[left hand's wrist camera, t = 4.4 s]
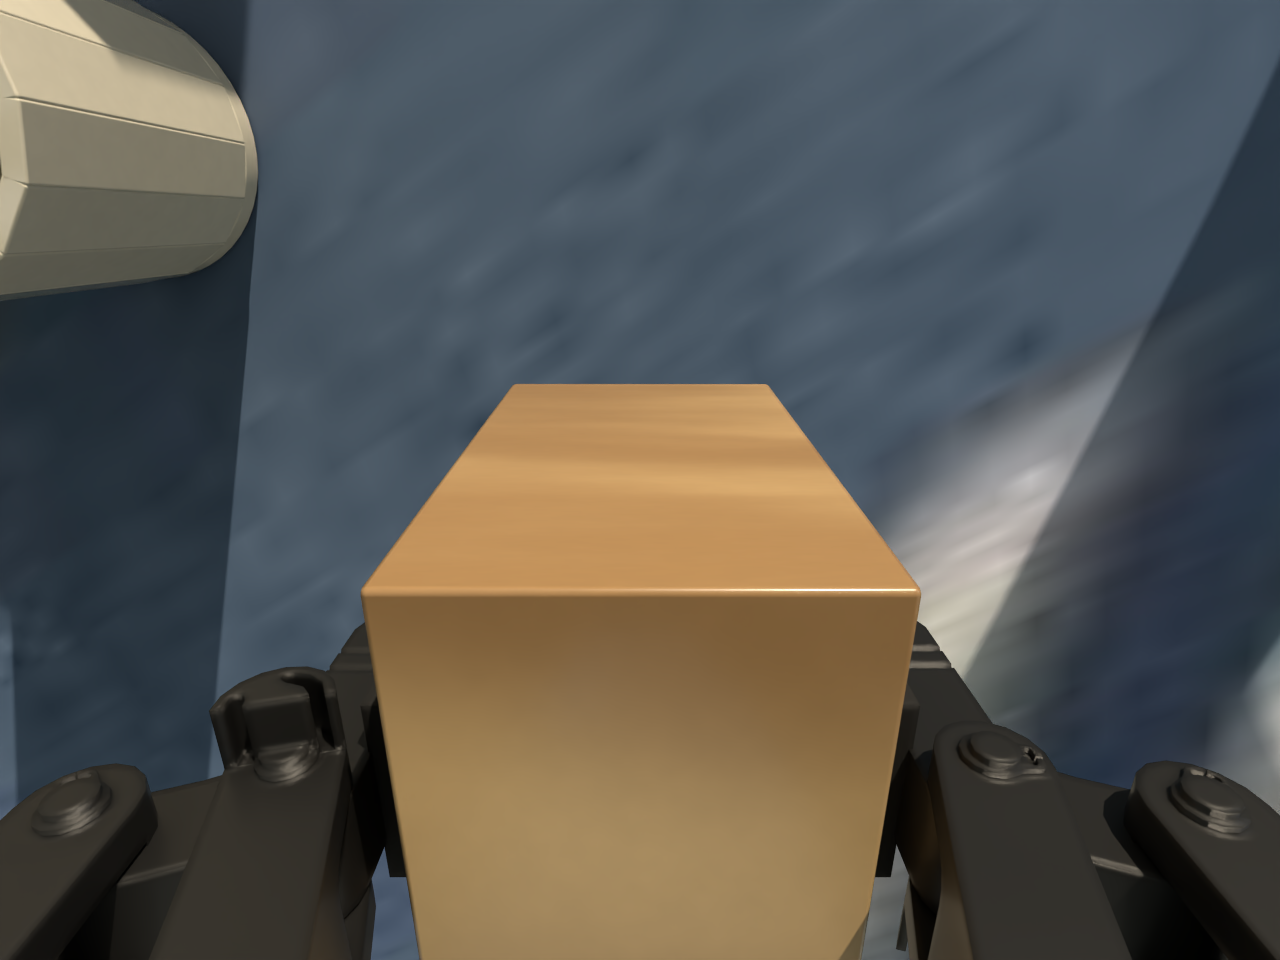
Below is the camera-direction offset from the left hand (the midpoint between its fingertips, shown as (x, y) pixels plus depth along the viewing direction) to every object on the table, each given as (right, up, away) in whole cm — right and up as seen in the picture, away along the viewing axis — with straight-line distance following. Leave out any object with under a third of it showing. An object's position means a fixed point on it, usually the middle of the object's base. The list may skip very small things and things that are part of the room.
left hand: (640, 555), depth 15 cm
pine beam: (0, -8, +3) cm, 8 cm away
